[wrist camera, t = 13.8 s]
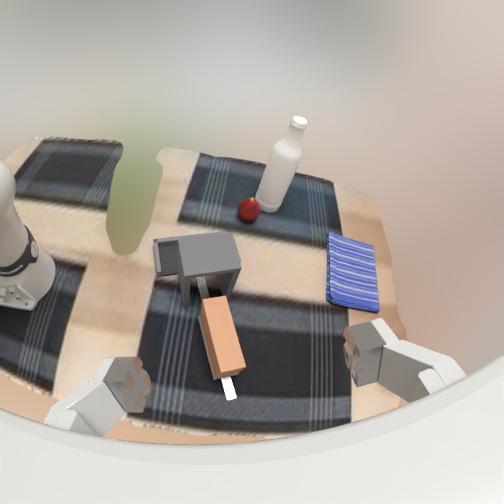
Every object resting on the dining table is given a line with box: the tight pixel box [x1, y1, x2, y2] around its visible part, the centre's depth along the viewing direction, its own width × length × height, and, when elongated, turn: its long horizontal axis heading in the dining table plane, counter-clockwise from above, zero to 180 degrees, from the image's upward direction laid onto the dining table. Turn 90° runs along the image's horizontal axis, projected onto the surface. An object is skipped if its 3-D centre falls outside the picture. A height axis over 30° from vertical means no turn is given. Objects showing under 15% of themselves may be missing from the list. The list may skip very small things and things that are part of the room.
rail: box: [196, 276, 237, 400], centre depth 58 cm, size 2×30×1 cm, turn 16°
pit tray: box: [153, 231, 241, 277], centre depth 66 cm, size 20×9×2 cm, turn 107°
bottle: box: [255, 116, 307, 213], centre depth 70 cm, size 8×8×30 cm
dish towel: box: [326, 231, 379, 313], centre depth 75 cm, size 17×24×3 cm
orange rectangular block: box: [198, 296, 246, 380], centre depth 52 cm, size 5×14×10 cm, turn 17°
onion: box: [238, 197, 260, 221], centre depth 74 cm, size 6×6×8 cm
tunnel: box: [178, 233, 241, 307], centre depth 57 cm, size 10×8×15 cm
